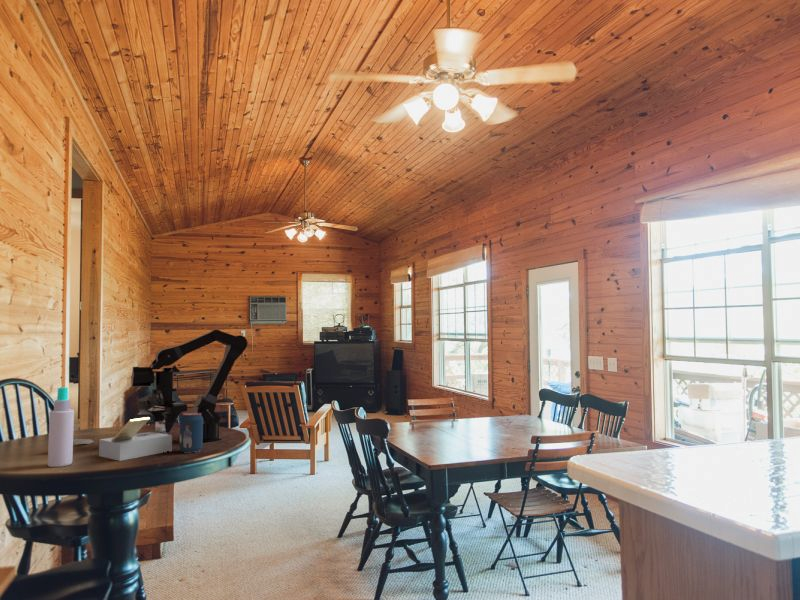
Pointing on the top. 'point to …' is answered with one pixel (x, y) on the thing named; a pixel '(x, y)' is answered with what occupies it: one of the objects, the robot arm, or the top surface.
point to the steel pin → (160, 427)
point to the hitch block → (135, 446)
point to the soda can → (191, 432)
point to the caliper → (82, 441)
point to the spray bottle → (61, 431)
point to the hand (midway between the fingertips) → (163, 431)
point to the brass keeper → (131, 428)
